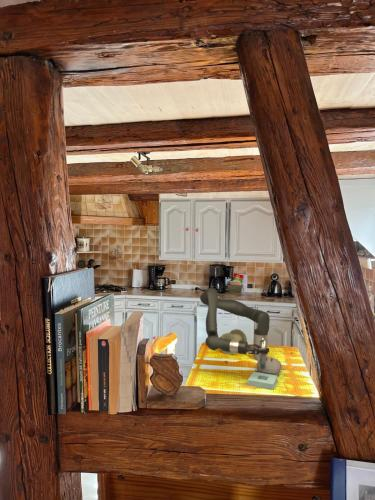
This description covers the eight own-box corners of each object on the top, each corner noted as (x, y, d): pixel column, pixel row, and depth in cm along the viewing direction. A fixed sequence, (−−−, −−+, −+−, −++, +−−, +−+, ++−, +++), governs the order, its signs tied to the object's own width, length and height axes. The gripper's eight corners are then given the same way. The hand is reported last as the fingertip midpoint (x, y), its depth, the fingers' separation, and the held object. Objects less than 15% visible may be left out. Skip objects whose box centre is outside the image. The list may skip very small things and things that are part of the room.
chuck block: (253, 376, 201) (253, 371, 201) (277, 380, 195) (277, 375, 195) (247, 385, 188) (247, 379, 188) (273, 389, 182) (273, 384, 182)
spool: (237, 356, 238) (237, 335, 238) (218, 352, 246) (218, 332, 246) (246, 350, 252) (246, 330, 252) (228, 347, 260) (228, 327, 260)
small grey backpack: (257, 365, 220) (255, 377, 201) (258, 353, 220) (255, 363, 201) (281, 368, 216) (281, 380, 196) (281, 355, 216) (281, 366, 196)
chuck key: (261, 365, 195) (262, 335, 195) (266, 366, 194) (267, 336, 194) (258, 369, 189) (259, 338, 189) (264, 370, 187) (265, 339, 187)
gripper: (235, 343, 191) (266, 348, 184) (242, 337, 203) (270, 341, 196) (235, 356, 191) (265, 361, 184) (241, 350, 203) (270, 354, 196)
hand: (268, 351), depth 190 cm, fingers closed on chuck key, 3 cm apart
